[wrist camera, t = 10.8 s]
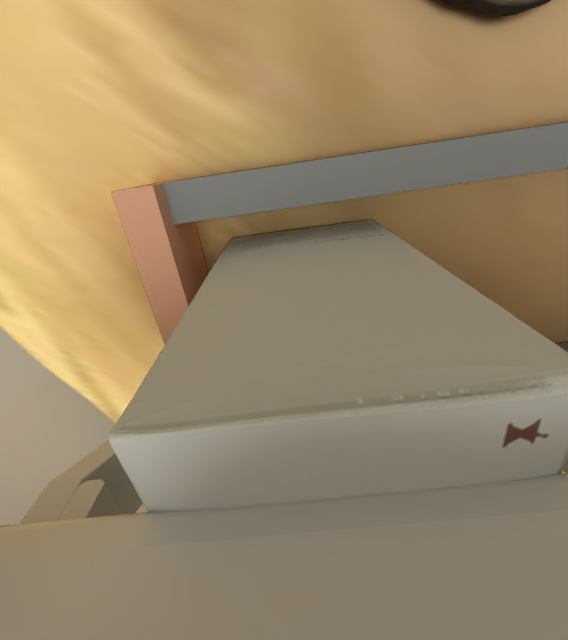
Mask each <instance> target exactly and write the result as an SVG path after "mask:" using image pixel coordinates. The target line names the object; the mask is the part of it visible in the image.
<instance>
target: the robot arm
mask: <svg viewBox="0 0 568 640" xmlns="http://www.w3.org/2000/svg"><path fill="white" fill-rule="evenodd" d="M562 470H563V471H565V472H566V473H565V474H556V475H549V476H543V477H535V478H527V479H520V480H513V481H504V482H496V483H486V484H477V485H468V486H459V487H449V488H438V489H427V490H417V491H406V492H395V493H384V494H374V495H363V496H352V497H341V498H330V499H319V500H308V501H297V502H287V503H276V504H265V505H254V506H243V507H231V508H218V509H204V510H189V511H173V512H144V513H135V512H136V511H137V510H138V509H139V507H140V506H141V505H142V504H143V502H142V501H141V499H140V497H139V495H138V493H137V491H136V489H135V488H134V486H133V484H132V482H131V480H130V479H129V477H128V475H127V474H126V472H125V470H124V469H123V467H122V465H121V463H120V461H119V459H118V457H117V456H116V454H115V452H114V451H113V449H112V447H111V445H110V442H109V440H107V441H106V442H105V443H103V444H102V445H100V446H99V447H98V448H97V449H95V450H94V451H92V452H91V453H89V454H88V455H87V456H85V457H84V458H83V459H81V460H80V461H78V462H77V463H76V464H74V465H73V466H72V467H70V468H69V469H67V470H66V471H65V472H63V473H62V474H61V475H59V476H58V477H56V478H55V479H54V480H52V481H51V482H50V483H48V485H47V486H46V488H45V489H44V490H43V492H42V493H41V495H40V496H39V497H38V499H37V500H36V502H35V503H34V504H33V506H32V507H31V508H30V510H29V511H28V512H27V514H26V515H25V517H24V518H23V519H22V521H21V522H20V523H19V524H14V525H3V526H0V640H568V457H567V459H566V462H565V464H564V467H563V469H562Z"/></svg>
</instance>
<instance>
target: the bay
mask: <svg viewBox="0 0 568 640" xmlns="http://www.w3.org/2000/svg"><path fill="white" fill-rule="evenodd" d="M566 168H568V122H561V123H554V124H548V125H541V126H534V127H528V128H521V129H515V130H508V131H501V132H495V133H488V134H481V135H475V136H468V137H461V138H455V139H448V140H441V141H435V142H428V143H422V144H415V145H408V146H402V147H395V148H388V149H382V150H375V151H368V152H362V153H355V154H348V155H342V156H335V157H329V158H322V159H315V160H309V161H302V162H295V163H289V164H282V165H275V166H269V167H262V168H255V169H249V170H242V171H236V172H229V173H222V174H216V175H209V176H202V177H196V178H189V179H182V180H176V181H169V182H162V183H156V184H150V185H144V186H139V187H134V188H128V189H123V190H117V191H112V192H111V195H112V198H113V200H114V203H115V206H116V209H117V212H118V214H119V217H120V220H121V223H122V226H123V229H124V231H125V234H126V237H127V240H128V243H129V245H130V248H131V251H132V254H133V257H134V260H135V262H136V265H137V268H138V271H139V274H140V276H141V279H142V282H143V285H144V288H145V290H146V293H147V296H148V299H149V302H150V305H151V307H152V310H153V313H154V316H155V319H156V321H157V324H158V327H159V330H160V333H161V336H162V338H163V341H164V344H165V345H166V343H167V341H168V339H169V338H170V336H171V334H172V333H173V331H174V330H175V328H176V326H177V325H178V323H179V322H180V320H181V318H182V316H183V315H184V313H185V311H186V310H187V308H188V307H189V305H190V303H191V302H192V300H193V299H194V297H195V295H196V294H197V292H198V290H199V289H200V287H201V285H202V284H203V282H204V280H205V279H206V277H207V276H208V272H207V268H206V264H205V260H204V256H203V252H202V248H201V244H200V240H199V236H198V232H197V228H196V224H195V221H202V220H209V219H216V218H223V217H230V216H237V215H244V214H251V213H258V212H265V211H272V210H279V209H286V208H293V207H300V206H307V205H314V204H321V203H328V202H335V201H342V200H349V199H356V198H363V197H370V196H377V195H384V194H391V193H398V192H405V191H412V190H419V189H426V188H433V187H440V186H447V185H454V184H461V183H468V182H475V181H482V180H489V179H496V178H503V177H510V176H517V175H524V174H531V173H538V172H545V171H552V170H559V169H566ZM556 345H558V346H559V347H561V348H562V349H563V350H565V351H566V352H568V342H565V343H556Z"/></svg>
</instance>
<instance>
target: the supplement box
mask: <svg viewBox="0 0 568 640" xmlns="http://www.w3.org/2000/svg"><path fill="white" fill-rule="evenodd" d="M108 440H109V442H110V445H111V447H112V449H113V451H114V452H115V454H116V456H117V457H118V459H119V461H120V463H121V465H122V467H123V469H124V470H125V472H126V474H127V475H128V477H129V479H130V480H131V482H132V484H133V486H134V488H135V489H136V491H137V493H138V495H139V497H140V499H141V501H142V502H143V504H144V506H145V507H146V509H147V511H148V512H173V511H189V510H204V509H218V508H231V507H243V506H254V505H265V504H276V503H287V502H297V501H308V500H319V499H330V498H341V497H352V496H363V495H374V494H384V493H395V492H406V491H417V490H427V489H438V488H449V487H459V486H468V485H477V484H486V483H496V482H504V481H513V480H520V479H527V478H535V477H543V476H549V475H556V474H561V472H562V469H563V467H564V464H565V462H566V459H567V457H568V352H566V351H565V350H563V349H562V348H561V347H559V346H558V345H556V344H555V343H553V342H552V341H550V340H549V339H547V338H546V337H545V336H543V335H542V334H540V333H539V332H537V331H536V330H534V329H533V328H531V327H530V326H528V325H527V324H525V323H524V322H522V321H520V320H519V319H517V318H516V317H515V316H513V315H512V314H511V313H509V312H508V311H506V310H505V309H504V308H502V307H501V306H499V305H498V304H496V303H495V302H493V301H492V300H490V299H489V298H487V297H485V296H484V295H482V294H481V293H480V292H478V291H477V290H475V289H474V288H473V287H471V286H470V285H468V284H467V283H465V282H464V281H462V280H461V279H459V278H458V277H456V276H455V275H453V274H452V273H450V272H449V271H447V270H446V269H445V268H443V267H442V266H440V265H439V264H437V263H436V262H435V261H433V260H432V259H430V258H429V257H427V256H426V255H424V254H423V253H421V252H420V251H418V250H417V249H416V248H414V247H413V246H411V245H410V244H408V243H407V242H405V241H404V240H402V239H401V238H399V237H398V236H396V235H395V234H393V233H392V232H390V231H389V230H388V229H386V228H385V227H383V226H382V225H380V224H379V223H377V222H376V221H375V220H373V219H372V220H364V221H357V222H348V223H342V224H335V225H328V226H318V227H312V228H305V229H297V230H290V231H282V232H275V233H267V234H259V235H252V236H244V237H238V238H232V239H230V240H229V241H228V243H227V245H226V246H225V248H224V250H223V251H222V253H221V254H220V256H219V257H218V259H217V261H216V263H215V264H214V266H213V267H212V269H211V271H210V272H209V274H208V276H207V277H206V279H205V280H204V282H203V284H202V285H201V287H200V289H199V290H198V292H197V294H196V295H195V297H194V299H193V300H192V302H191V303H190V305H189V307H188V308H187V310H186V311H185V313H184V315H183V316H182V318H181V320H180V322H179V323H178V325H177V326H176V328H175V330H174V331H173V333H172V334H171V336H170V338H169V339H168V341H167V343H166V345H165V346H164V348H163V349H162V351H161V352H160V354H159V355H158V357H157V359H156V361H155V363H154V364H153V366H152V367H151V369H150V370H149V372H148V374H147V375H146V377H145V378H144V380H143V382H142V383H141V385H140V387H139V389H138V390H137V392H136V394H135V395H134V397H133V399H132V400H131V401H130V403H129V404H128V406H127V408H126V409H125V411H124V412H123V414H122V415H121V417H120V419H119V420H118V422H117V423H116V425H115V426H114V428H113V429H112V431H111V432H110V434H109V438H108Z"/></svg>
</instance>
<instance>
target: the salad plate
mask: <svg viewBox="0 0 568 640" xmlns="http://www.w3.org/2000/svg"><path fill="white" fill-rule="evenodd" d="M443 1H446V2H448V3H450V4H453V5H459V6H465V7H468V8H470V9H474V10H477V11H481V12H485V13H491V14H497V15H502V16H505V15H513V14H518V13H520V12H523V11H526V10H529V9H531V8H534V7H537V6H540V5H542V4H545V3H547V2H549V1H550V0H443Z"/></svg>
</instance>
